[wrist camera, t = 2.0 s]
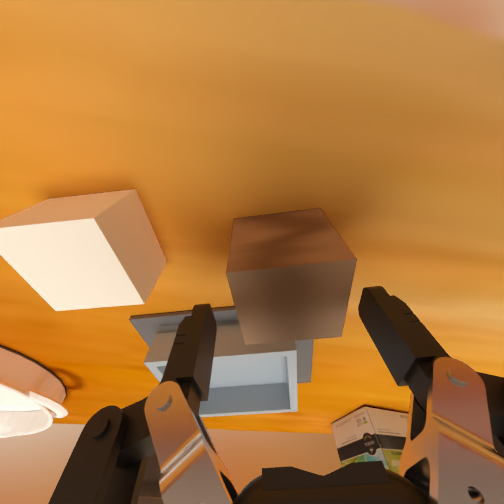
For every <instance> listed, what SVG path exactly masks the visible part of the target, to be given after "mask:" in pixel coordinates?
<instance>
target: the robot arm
mask: <svg viewBox="0 0 504 504" xmlns="http://www.w3.org/2000/svg"><path fill="white" fill-rule="evenodd" d="M358 311H359V315H360V318H361V320H362V322H363V324H364V326H365V327H366V329H367V331H368V333H369V335H370V336H371V338H372V340H373V342H374V344H375V345H376V347H377V349H378V351H379V353H380V354H381V356H382V358H383V360H384V362H385V364H386V365H387V367H388V369H389V371H390V373H391V374H392V376H393V378H394V380H395V382H396V383H397V385H398V386H407V385H408V386H409V388H410V390H411V391H412V393H411V396H410V406H409V416H408V426H407V436H406V442H405V446H404V449H403V451H402V455H401V459H400V465H399V474H397V473H395V472H393V471H391V470H389V469H385V467H384V464H383V462H382V461H367V462H352V463H350V464H348V465H346V466H344V467H342V468H340V469H338V470H336V471H334V472H332V473H330V474H328V475H325V476H321V475H317V474H314V473H311V472H307V471H304V470H300V469H297V468H294V467H276V468H262V475H261V476H259V477H257V478H255V479H254V480H253V481H251V482H250V483H249V484H248V485H247V486H246V487H245V488H244V489H243V490H242V492H241V493H240V494H239V493H238V491H237V489H236V487H235V484H234V482H233V480H232V478H231V476H230V474H229V472H228V470H227V468H226V466H225V465H224V463H223V461H222V460H221V458H220V456H219V454H218V452H217V450H216V448H215V446H214V444H213V442H212V440H211V438H210V436H209V433H208V431H207V429H206V427H205V425H204V423H203V421H202V419H201V417H200V415H199V408H200V401H208V395H209V387H210V380H211V372H212V364H213V357H214V349H215V341H216V333H217V325H216V320H215V317H214V314H213V312H212V309H211V306H210V304H199V305H194V307H193V311H192V315H191V316H185V317H184V319H183V320H182V321H181V323H180V324H179V326H178V329H177V332H176V337H175V339H174V342H173V346H172V348H171V352H170V355H169V358H168V361H167V365H166V368H165V371H164V374H163V377H162V380H161V382H160V384H159V385H158V386H157V387H156V388H154V390H153V391H152V392H151V393H150V395H149V396H148V397H146V398H145V399H143V400H141V401H139V402H136V403H134V404H132V405H130V406H128V407H125V408H123V409H120V408H119V407H117V406H107V407H105V408H103V409H101V410H99V411H98V412H97V413H96V414H94V415H93V416H92V417H91V418H90V420H89V421H88V422H87V424H86V425H85V427H84V429H83V431H82V432H81V435H80V437H79V439H78V441H77V443H76V446H75V448H74V450H73V452H72V454H71V456H70V458H69V460H68V463H67V465H66V467H65V469H64V471H63V473H62V475H61V478H60V480H59V482H58V484H57V486H56V489H55V490H54V493H53V495H52V497H51V499H50V501H49V504H137V503H138V498H139V494H140V490H141V486H142V482H143V477H144V473H145V469H146V465H147V461H148V457H149V456H151V455H153V454H154V453H156V455H157V459H158V462H159V465H160V470H161V476H160V478H159V486H160V492H161V496H162V500H163V503H164V504H504V378H503V377H498V376H493V375H489V374H484V373H479V372H476V371H474V370H473V369H472V368H471V367H470V366H468V365H467V364H465V363H463V362H461V361H459V360H457V359H454V358H451V357H450V356H449V355H448V354H447V353H446V352H445V350H444V349H443V348H442V347H441V346H440V344H439V343H438V342H437V341H436V339H435V338H434V337H433V336H432V335H431V333H430V332H429V331H428V330H427V329H426V327H425V326H424V325H423V324H422V323H421V322H420V320H419V319H418V318H417V317H416V315H415V314H413V312H412V311H411V309H410V308H409V307H408V306H407V305H406V303H404V302H403V301H402V300H400V299H399V298H397V297H396V296H394V295H393V296H389V294H388V293H387V292H386V290H385V289H384V288H383V287H381V286H375V287H365V288H364V289H363V291H362V295H361V299H360V303H359V307H358ZM496 451H497V452H496Z"/></svg>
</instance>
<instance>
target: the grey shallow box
mask: <svg viewBox="0 0 504 504" xmlns="http://www.w3.org/2000/svg"><path fill="white" fill-rule="evenodd" d="M192 311H193V310H191V311H181V312H171V313H160V314H150V315H140V316H131V317H130V319H129V320H130V322H131V323H132V324H133V326H134V327H135V328H136V330H137V331H138V333H139V334H140V335H141V337H142V338H143V339H144V341H145V342H146V343H147V345H148V346H149V347H150V349H149V351H148V354H147V356H146V359H145V361H144V364H145V365H146V366H147V367H148V368H149V370H150V371H151V372H152V373H153V374H154V376H155V377H156V378H157V379H158V381H159V382H161V380H162V377H163V374H164V371H165V368H166V365H167V361H168V358H169V355H170V352H171V348H172V346H173V342H174V339H175V337H176V332H177V329H178V326H179V324H180V323H181V321H182V320H183V319H184V317H185V316H191V315H192ZM212 312H213V314H214V317H215V320H216V325H217V333H216V341H215V349H214V357H213V364H212V372H211V380H210V387H209V395H208V401H200V408H199V415H200V417H213V416H229V415H245V414H262V413H278V412H294V411H298V409H297V383H307V382H311V370H312V354H313V339H309V340H297V341H285V342H273V343H261V344H249V345H245V342H244V339H243V335H242V331H241V327H240V323H239V320H238V316H237V312H236V308H235V306H233V307H222V308H212Z"/></svg>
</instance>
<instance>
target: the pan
mask: <svg viewBox="0 0 504 504" xmlns="http://www.w3.org/2000/svg"><path fill="white" fill-rule="evenodd" d="M65 396H66V392H65V387H64V385H63V383H62V382H61V380H60V379H59V378H58V377H57V376H56V375H55V374H53V373H52V372H51V371H50V370H48V369H47V368H45V367H44V366H42V365H41V364H39V363H38V362H36V361H34V360H32V359H30V358H28V357H26V356H24V355H22V354H20V353H18V352H16V351H13V350H11V349H8V348H6V347H3V346H1V345H0V438H5V437H11V436H18V435H28V434H33V433H38V432H40V431H43V430H45V429H47V428H48V427H50V426H51V425H52V423H53V420H54V417H57V418H63V417H64V416H66V415H68V410H67V409H66V408H65V407H64V406H63V405H62V402H63V400H64V398H65Z"/></svg>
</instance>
